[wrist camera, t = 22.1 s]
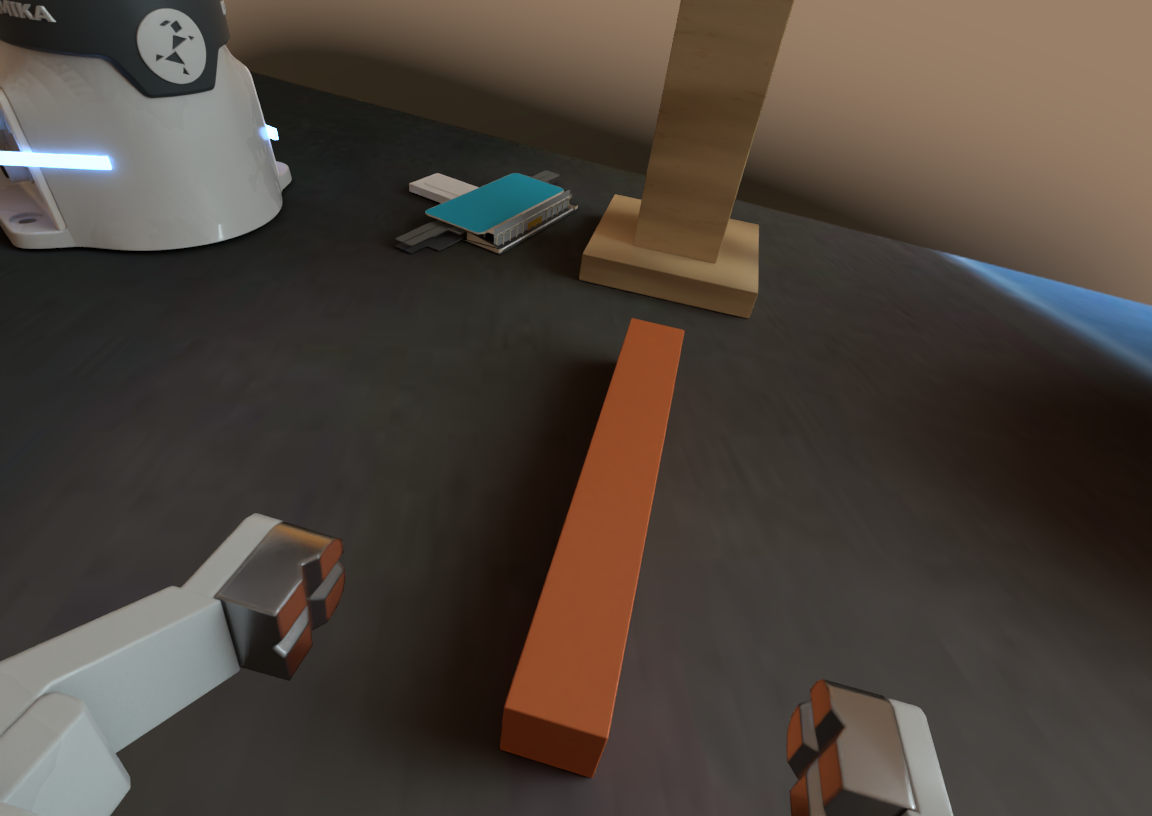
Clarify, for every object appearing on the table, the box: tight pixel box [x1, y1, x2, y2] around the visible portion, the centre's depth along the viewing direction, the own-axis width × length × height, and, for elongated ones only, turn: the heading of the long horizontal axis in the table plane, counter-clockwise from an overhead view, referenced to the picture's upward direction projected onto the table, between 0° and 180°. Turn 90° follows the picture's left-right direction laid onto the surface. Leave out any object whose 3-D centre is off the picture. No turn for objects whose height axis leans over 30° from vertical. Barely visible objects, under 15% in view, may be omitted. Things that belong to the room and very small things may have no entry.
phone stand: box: [395, 171, 578, 255], centre depth 49 cm, size 20×12×2 cm, turn 150°
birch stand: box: [579, 0, 794, 319], centre depth 38 cm, size 16×12×26 cm
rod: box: [500, 318, 684, 778], centre depth 26 cm, size 22×3×3 cm, turn 166°
